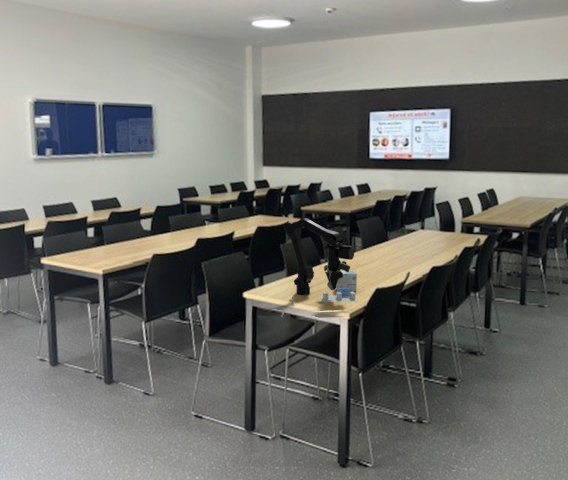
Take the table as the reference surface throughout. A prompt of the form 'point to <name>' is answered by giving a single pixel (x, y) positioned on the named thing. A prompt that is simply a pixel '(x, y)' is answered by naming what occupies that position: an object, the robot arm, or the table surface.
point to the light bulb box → (348, 281)
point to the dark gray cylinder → (330, 285)
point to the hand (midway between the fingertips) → (332, 287)
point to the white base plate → (340, 296)
